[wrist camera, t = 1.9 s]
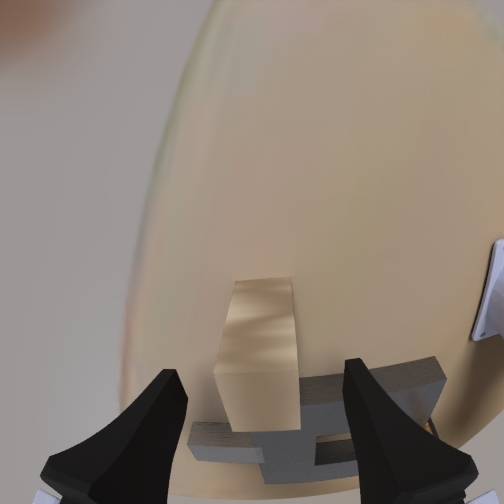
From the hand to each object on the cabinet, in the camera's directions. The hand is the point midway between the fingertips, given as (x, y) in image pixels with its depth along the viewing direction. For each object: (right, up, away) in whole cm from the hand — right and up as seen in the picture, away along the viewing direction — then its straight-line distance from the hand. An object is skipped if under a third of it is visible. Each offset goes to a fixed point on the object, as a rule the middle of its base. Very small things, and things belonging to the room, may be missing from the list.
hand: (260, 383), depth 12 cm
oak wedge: (0, +2, +5) cm, 6 cm away
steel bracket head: (+4, -9, +10) cm, 14 cm away
